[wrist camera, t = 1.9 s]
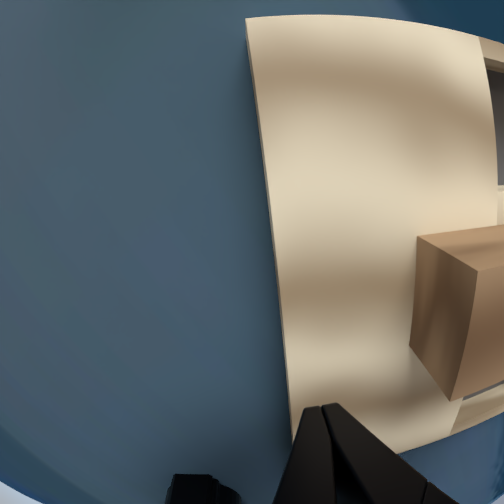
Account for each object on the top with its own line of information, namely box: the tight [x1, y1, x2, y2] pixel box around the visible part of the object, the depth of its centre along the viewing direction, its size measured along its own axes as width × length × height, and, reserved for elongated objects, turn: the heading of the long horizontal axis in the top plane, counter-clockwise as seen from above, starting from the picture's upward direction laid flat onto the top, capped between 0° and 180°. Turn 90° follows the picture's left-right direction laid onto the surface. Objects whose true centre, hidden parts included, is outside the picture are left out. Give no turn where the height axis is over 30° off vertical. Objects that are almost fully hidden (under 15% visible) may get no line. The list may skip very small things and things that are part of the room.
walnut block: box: [409, 224, 504, 402], centre depth 10 cm, size 5×5×4 cm
